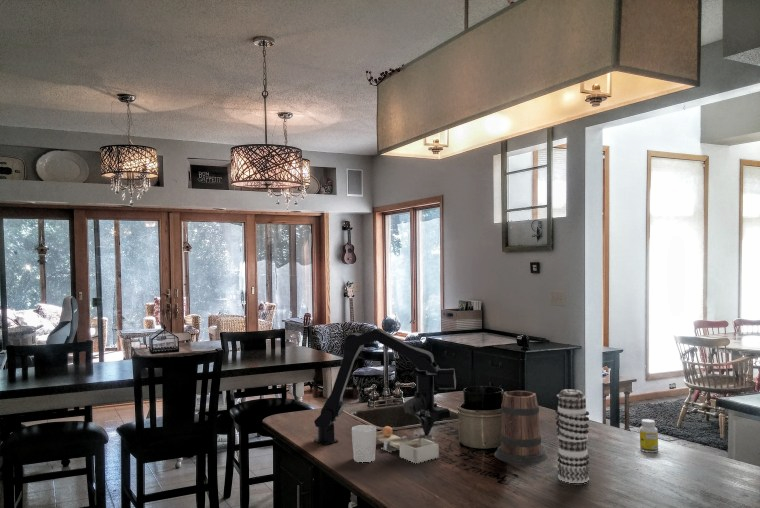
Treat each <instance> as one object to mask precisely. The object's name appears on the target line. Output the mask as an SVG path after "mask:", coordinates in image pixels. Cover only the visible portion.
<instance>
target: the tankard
mask: <svg viewBox="0 0 760 508" xmlns="http://www.w3.org/2000/svg"><path fill="white" fill-rule="evenodd" d="M500 406H501V407H500V411H501V426H500V427H501V429H500V434H499V439H500V446H498V447H497V449H496V450H495V452H494V454H493V455H494V457H495V458H496V459H498V460H500V461H502V462H504V463H505V462H506V463H511V464H516V465H517V464H518V465H535V464H534V463H537V464H541V462H542V463H544V462H546V461H547V460H548V459H549V456H548V454H546V452H545V450H544V449H543V448H542V445H541V443H542V436H541V431H540V430H541V429H540V428H541V427H540V416H539V415H540V414H539V412H540V406H539V404H538V399H537V393H536V392H532V391H527V390H512V391H509V390H508V391H504V392H503V396H502V403H501V405H500ZM547 458H548V459H547ZM545 460H546V461H545Z"/></svg>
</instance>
